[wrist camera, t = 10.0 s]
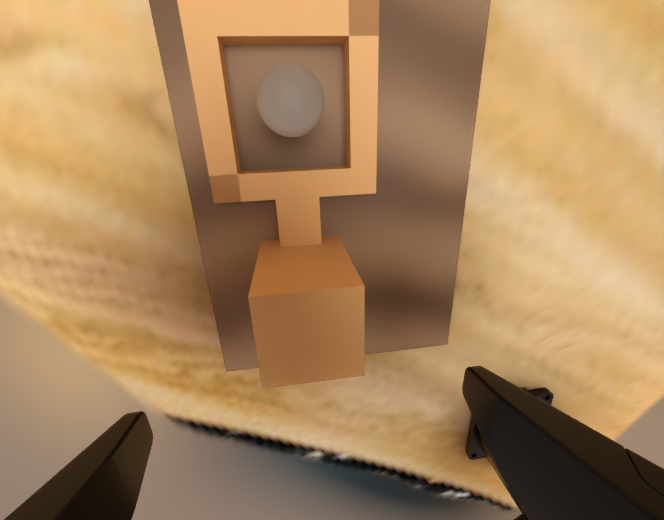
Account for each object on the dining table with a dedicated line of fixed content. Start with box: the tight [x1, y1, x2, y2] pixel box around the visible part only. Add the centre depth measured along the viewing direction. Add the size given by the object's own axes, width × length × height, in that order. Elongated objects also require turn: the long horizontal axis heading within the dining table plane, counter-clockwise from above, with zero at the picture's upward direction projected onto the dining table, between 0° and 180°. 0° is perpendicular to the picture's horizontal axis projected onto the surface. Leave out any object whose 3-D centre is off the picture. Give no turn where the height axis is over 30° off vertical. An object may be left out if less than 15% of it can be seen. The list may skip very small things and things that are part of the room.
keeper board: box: [149, 0, 491, 371], centre depth 14 cm, size 20×14×7 cm
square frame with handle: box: [177, 0, 379, 389], centre depth 12 cm, size 14×7×6 cm, turn 2°
